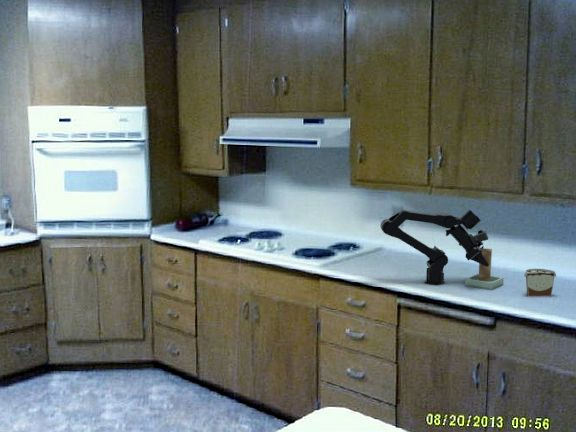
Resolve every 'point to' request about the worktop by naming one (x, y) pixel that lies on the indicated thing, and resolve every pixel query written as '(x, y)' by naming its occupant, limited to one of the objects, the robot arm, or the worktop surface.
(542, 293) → the food container
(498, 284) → the tray
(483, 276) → the walnut post
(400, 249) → the worktop surface
